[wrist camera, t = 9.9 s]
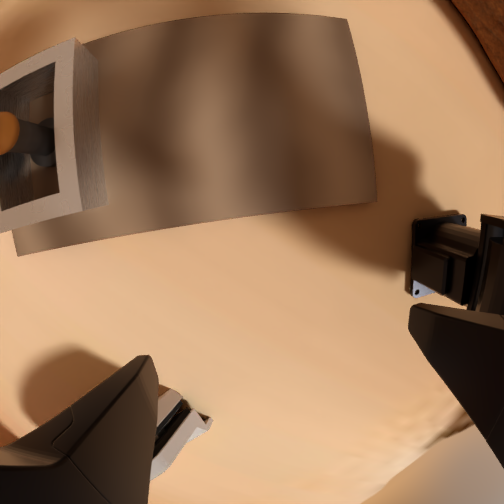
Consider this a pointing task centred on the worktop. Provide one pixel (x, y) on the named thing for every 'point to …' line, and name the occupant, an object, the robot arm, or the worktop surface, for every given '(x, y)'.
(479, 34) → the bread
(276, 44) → the board
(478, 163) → the worktop surface
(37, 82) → the hollow metal box
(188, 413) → the grey rounded block
